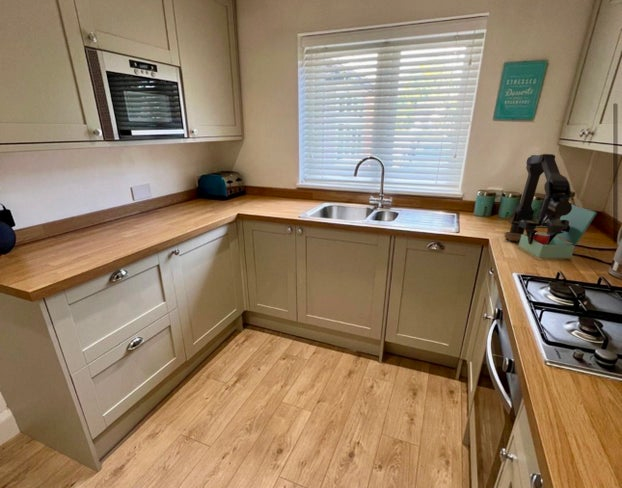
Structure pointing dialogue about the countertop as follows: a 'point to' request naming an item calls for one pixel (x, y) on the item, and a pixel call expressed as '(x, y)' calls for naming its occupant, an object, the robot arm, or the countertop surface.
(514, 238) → the stool
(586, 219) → the lid
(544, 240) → the can
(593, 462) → the countertop surface
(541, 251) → the green hinged box
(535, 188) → the robot arm
